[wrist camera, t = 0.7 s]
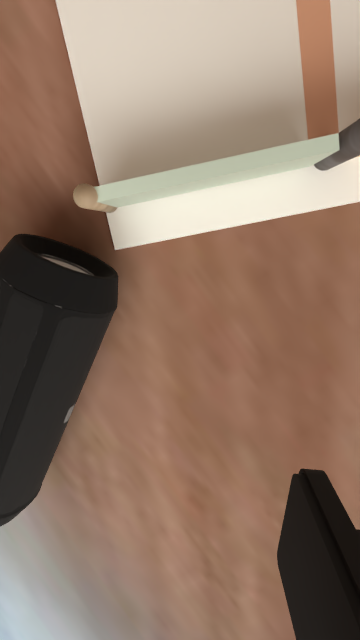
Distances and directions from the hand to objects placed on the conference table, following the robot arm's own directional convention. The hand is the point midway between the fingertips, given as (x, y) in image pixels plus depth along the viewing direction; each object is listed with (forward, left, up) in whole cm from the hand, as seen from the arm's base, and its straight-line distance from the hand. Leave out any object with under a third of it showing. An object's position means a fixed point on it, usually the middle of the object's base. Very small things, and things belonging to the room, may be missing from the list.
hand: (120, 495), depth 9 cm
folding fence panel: (-4, -10, -23) cm, 25 cm away
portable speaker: (+15, +4, -24) cm, 28 cm away
